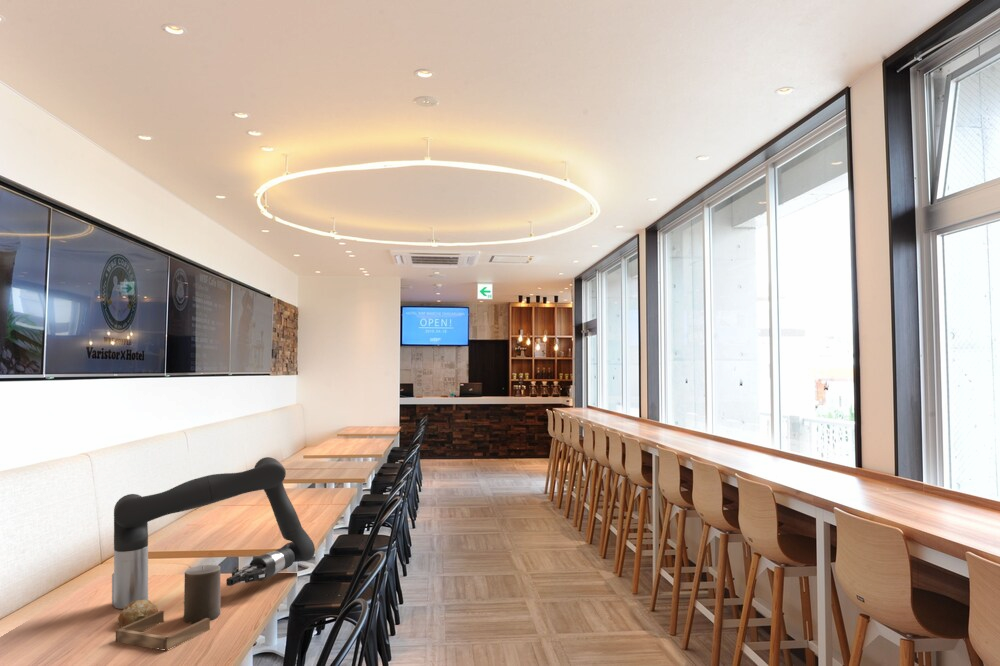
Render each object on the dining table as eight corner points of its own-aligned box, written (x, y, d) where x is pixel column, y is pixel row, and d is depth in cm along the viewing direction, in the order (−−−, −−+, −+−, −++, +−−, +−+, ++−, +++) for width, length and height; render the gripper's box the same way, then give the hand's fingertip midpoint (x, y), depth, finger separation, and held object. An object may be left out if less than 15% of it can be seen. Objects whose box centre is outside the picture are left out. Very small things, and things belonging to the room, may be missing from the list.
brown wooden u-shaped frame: (115, 641, 174) (115, 630, 174) (160, 621, 187) (160, 610, 187) (166, 651, 167) (166, 639, 168) (209, 629, 181) (209, 618, 181)
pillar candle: (201, 625, 184) (202, 571, 184) (176, 620, 187) (176, 567, 188) (228, 613, 193) (228, 561, 193) (203, 608, 196) (203, 558, 197)
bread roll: (126, 644, 181) (133, 620, 180) (108, 621, 186) (115, 598, 185) (160, 631, 189) (167, 608, 188) (143, 610, 194) (149, 587, 193)
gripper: (251, 552, 218) (211, 568, 202) (283, 555, 213) (245, 572, 197) (251, 574, 218) (211, 592, 202) (283, 578, 213) (245, 597, 197)
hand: (228, 582), depth 200 cm, fingers closed
